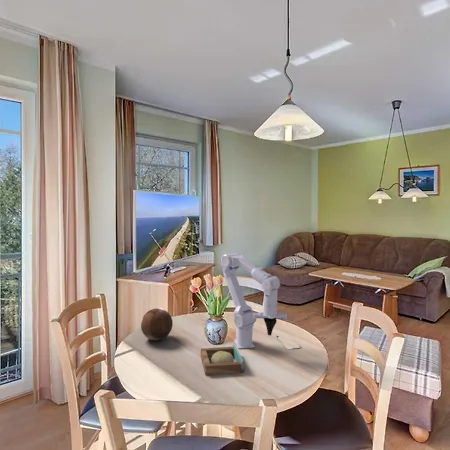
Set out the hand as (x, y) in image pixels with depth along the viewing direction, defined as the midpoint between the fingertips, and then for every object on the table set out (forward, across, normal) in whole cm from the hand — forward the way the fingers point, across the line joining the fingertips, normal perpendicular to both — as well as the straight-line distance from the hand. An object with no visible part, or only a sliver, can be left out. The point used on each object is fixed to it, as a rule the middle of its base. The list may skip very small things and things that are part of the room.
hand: (269, 334), depth 146 cm
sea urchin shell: (+10, -21, -9) cm, 24 cm away
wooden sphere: (+10, -52, +15) cm, 55 cm away
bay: (+9, -21, -9) cm, 24 cm away
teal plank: (+9, -14, -8) cm, 18 cm away
